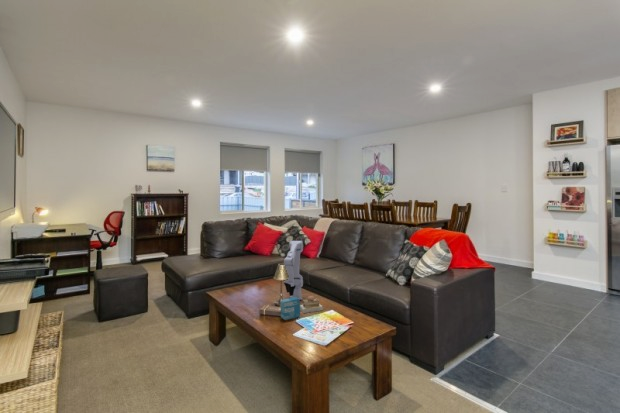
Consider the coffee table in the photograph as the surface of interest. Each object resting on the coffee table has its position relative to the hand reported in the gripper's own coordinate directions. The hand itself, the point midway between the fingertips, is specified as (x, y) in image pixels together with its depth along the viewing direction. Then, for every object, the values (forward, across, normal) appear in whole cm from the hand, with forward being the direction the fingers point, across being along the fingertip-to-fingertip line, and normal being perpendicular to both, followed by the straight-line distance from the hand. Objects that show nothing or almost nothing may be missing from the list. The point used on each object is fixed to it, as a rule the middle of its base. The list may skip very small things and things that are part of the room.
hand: (289, 293), depth 219 cm
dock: (+10, +7, +13) cm, 18 cm away
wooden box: (+8, +7, +13) cm, 17 cm away
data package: (+11, +15, -4) cm, 19 cm away
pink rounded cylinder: (+4, +7, +13) cm, 15 cm away
